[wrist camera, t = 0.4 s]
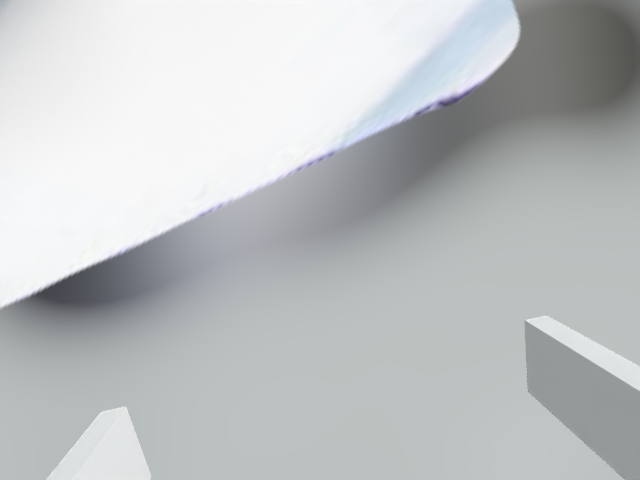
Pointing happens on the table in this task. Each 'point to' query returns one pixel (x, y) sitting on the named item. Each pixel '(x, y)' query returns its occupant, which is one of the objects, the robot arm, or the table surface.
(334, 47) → the table surface
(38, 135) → the table surface
